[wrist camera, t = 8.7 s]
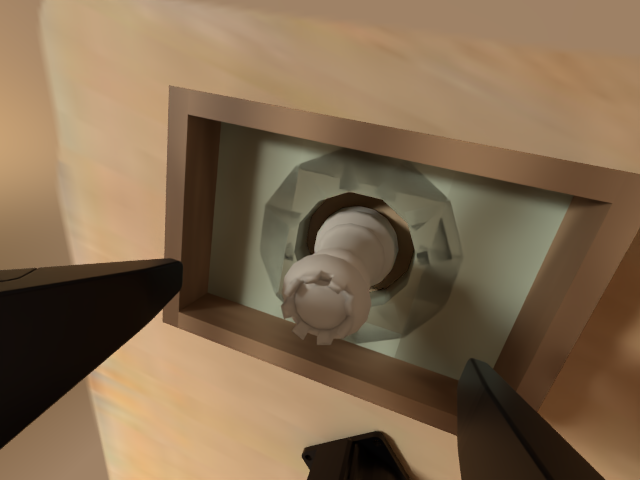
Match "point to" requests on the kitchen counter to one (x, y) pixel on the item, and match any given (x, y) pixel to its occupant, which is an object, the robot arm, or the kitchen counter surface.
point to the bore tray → (428, 257)
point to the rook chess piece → (339, 274)
